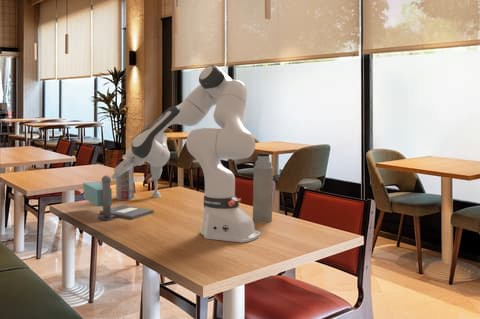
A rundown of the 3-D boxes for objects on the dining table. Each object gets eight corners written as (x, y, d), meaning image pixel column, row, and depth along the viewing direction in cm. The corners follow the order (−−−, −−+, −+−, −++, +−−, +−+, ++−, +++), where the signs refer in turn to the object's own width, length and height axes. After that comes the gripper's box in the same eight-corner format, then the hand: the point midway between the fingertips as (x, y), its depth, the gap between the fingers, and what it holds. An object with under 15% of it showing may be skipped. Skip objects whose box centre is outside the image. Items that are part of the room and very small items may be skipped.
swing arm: (115, 215, 197) (114, 175, 195) (101, 217, 194) (100, 176, 192) (97, 204, 217) (96, 168, 215) (83, 206, 214) (82, 169, 212)
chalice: (160, 198, 239) (160, 162, 237) (147, 197, 241) (147, 162, 238) (165, 195, 247) (165, 161, 244) (152, 194, 248) (152, 160, 246)
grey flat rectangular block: (153, 212, 209) (153, 209, 209) (131, 219, 197) (131, 216, 197) (122, 207, 218) (122, 204, 218) (99, 213, 206) (99, 210, 205)
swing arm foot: (115, 218, 198) (115, 215, 198) (107, 221, 194) (107, 218, 193) (106, 216, 200) (106, 214, 200) (98, 219, 196) (97, 216, 196)
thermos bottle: (271, 218, 203) (273, 152, 200) (271, 222, 195) (273, 154, 192) (253, 217, 204) (254, 152, 200) (252, 222, 196) (253, 154, 192)
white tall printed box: (133, 197, 241) (133, 154, 238) (129, 200, 234) (128, 155, 232) (121, 196, 242) (120, 153, 239) (116, 199, 235) (115, 155, 232)
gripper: (136, 164, 198) (113, 187, 199) (144, 158, 219) (123, 179, 220) (125, 153, 198) (102, 176, 199) (134, 148, 218) (113, 169, 219)
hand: (113, 178), depth 209 cm, fingers closed
